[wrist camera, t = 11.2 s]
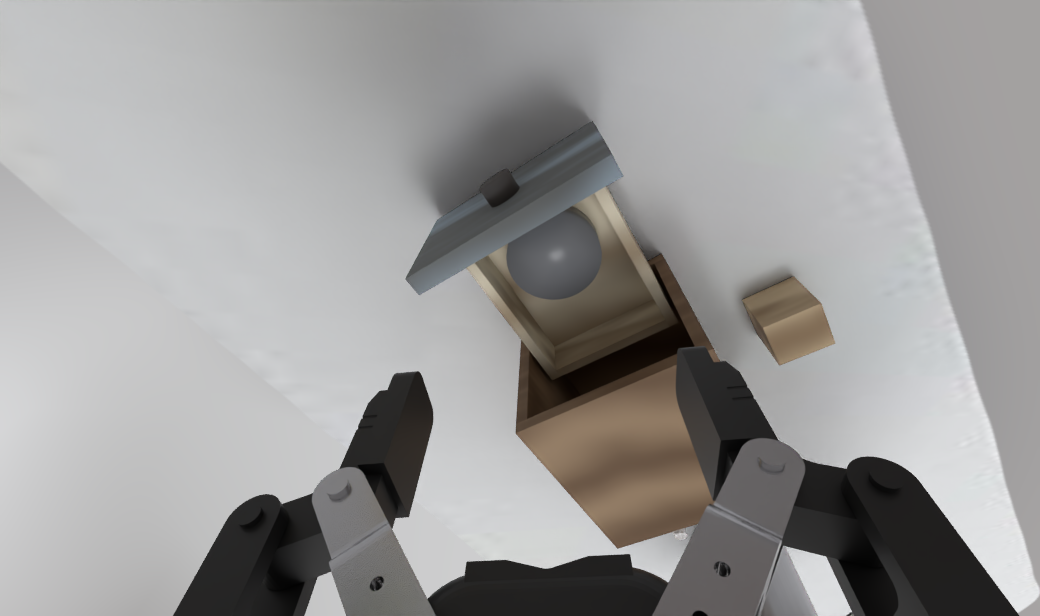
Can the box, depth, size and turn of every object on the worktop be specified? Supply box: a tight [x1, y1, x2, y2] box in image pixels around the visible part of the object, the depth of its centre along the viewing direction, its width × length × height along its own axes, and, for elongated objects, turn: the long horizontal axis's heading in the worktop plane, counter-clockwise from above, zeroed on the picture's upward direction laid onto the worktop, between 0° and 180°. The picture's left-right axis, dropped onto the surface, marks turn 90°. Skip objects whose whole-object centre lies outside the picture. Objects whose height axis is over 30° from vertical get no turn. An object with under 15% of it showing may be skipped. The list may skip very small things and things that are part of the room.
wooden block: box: [742, 277, 835, 365], centre depth 35 cm, size 4×4×4 cm
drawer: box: [406, 121, 679, 380], centre depth 30 cm, size 15×12×9 cm
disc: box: [506, 206, 602, 300], centre depth 32 cm, size 6×6×2 cm
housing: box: [516, 254, 720, 549], centre depth 34 cm, size 14×12×12 cm
